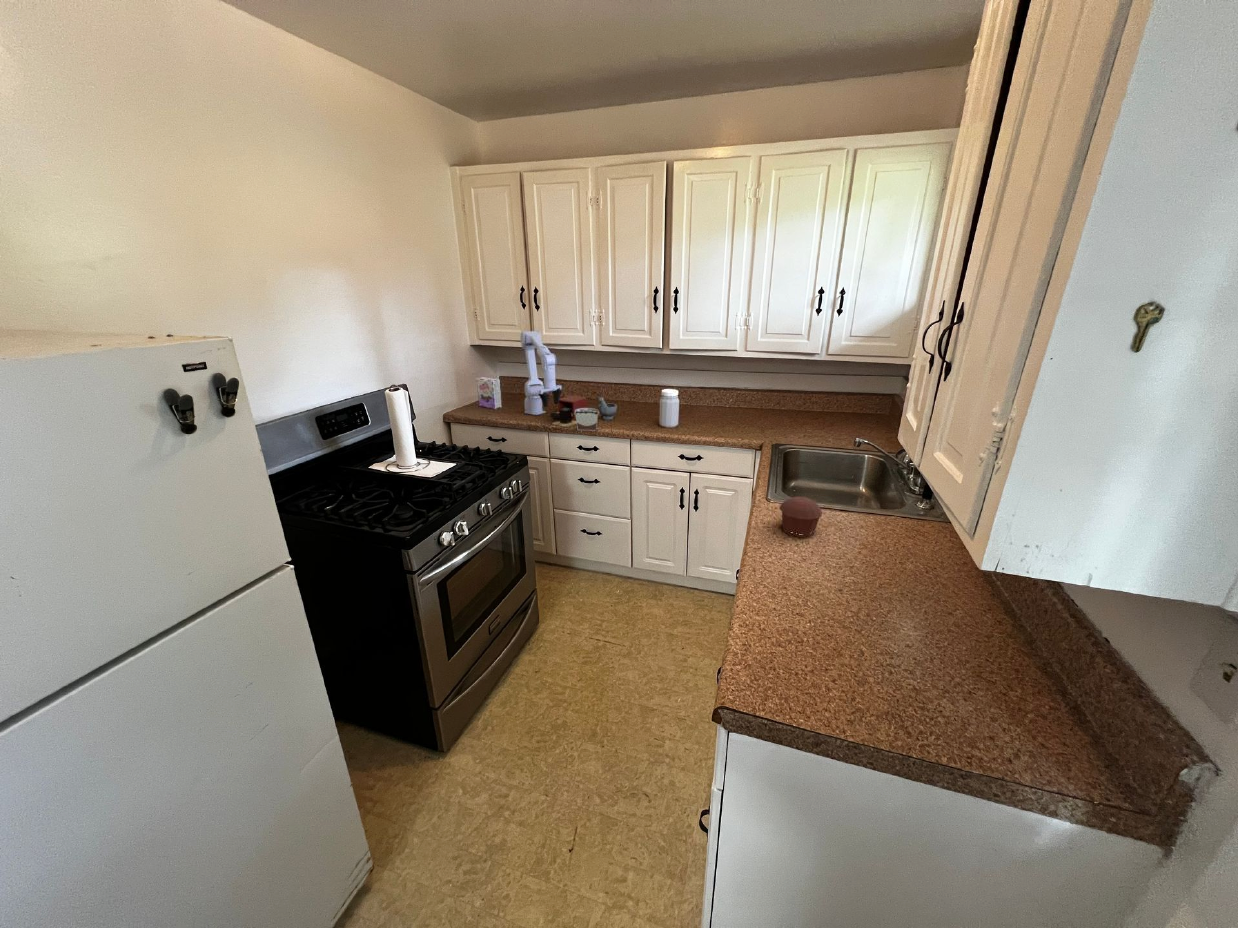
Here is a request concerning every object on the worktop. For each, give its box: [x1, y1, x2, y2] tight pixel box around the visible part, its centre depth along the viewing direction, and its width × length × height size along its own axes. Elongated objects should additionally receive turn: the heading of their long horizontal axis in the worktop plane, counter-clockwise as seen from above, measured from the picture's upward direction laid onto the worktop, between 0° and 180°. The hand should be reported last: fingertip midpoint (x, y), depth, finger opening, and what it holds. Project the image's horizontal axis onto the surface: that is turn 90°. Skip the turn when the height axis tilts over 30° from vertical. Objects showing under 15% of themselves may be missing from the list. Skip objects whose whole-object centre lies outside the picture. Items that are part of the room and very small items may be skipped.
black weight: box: [559, 408, 573, 424], centre depth 245 cm, size 4×4×7 cm
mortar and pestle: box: [598, 396, 618, 421], centre depth 254 cm, size 11×9×12 cm
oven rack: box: [549, 411, 573, 420], centre depth 256 cm, size 9×13×3 cm
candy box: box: [475, 376, 503, 410], centre depth 276 cm, size 14×6×16 cm, turn 55°
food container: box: [574, 407, 600, 432], centre depth 236 cm, size 12×6×10 cm, turn 84°
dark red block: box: [557, 394, 588, 419], centre depth 262 cm, size 11×12×9 cm
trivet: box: [551, 419, 577, 428], centre depth 247 cm, size 10×10×1 cm
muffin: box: [779, 496, 823, 539], centre depth 140 cm, size 12×11×10 cm
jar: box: [658, 388, 680, 429], centre depth 240 cm, size 10×10×18 cm
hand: (551, 405), depth 244 cm, fingers open, 7 cm apart
